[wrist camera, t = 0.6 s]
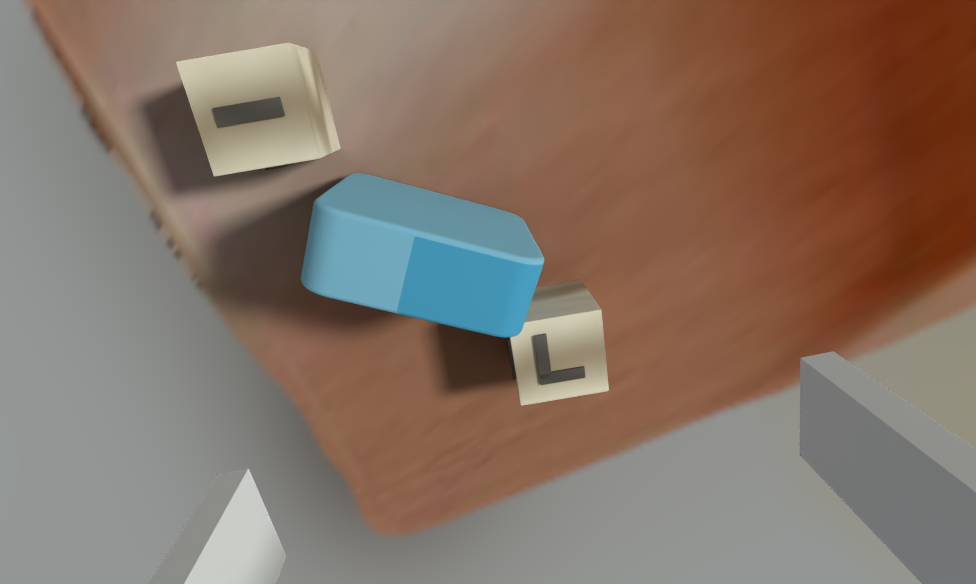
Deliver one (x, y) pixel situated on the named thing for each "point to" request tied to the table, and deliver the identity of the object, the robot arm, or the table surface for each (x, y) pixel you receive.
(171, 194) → the table surface
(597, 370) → the maple block seven
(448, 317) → the data package
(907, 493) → the robot arm
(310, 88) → the maple block one
